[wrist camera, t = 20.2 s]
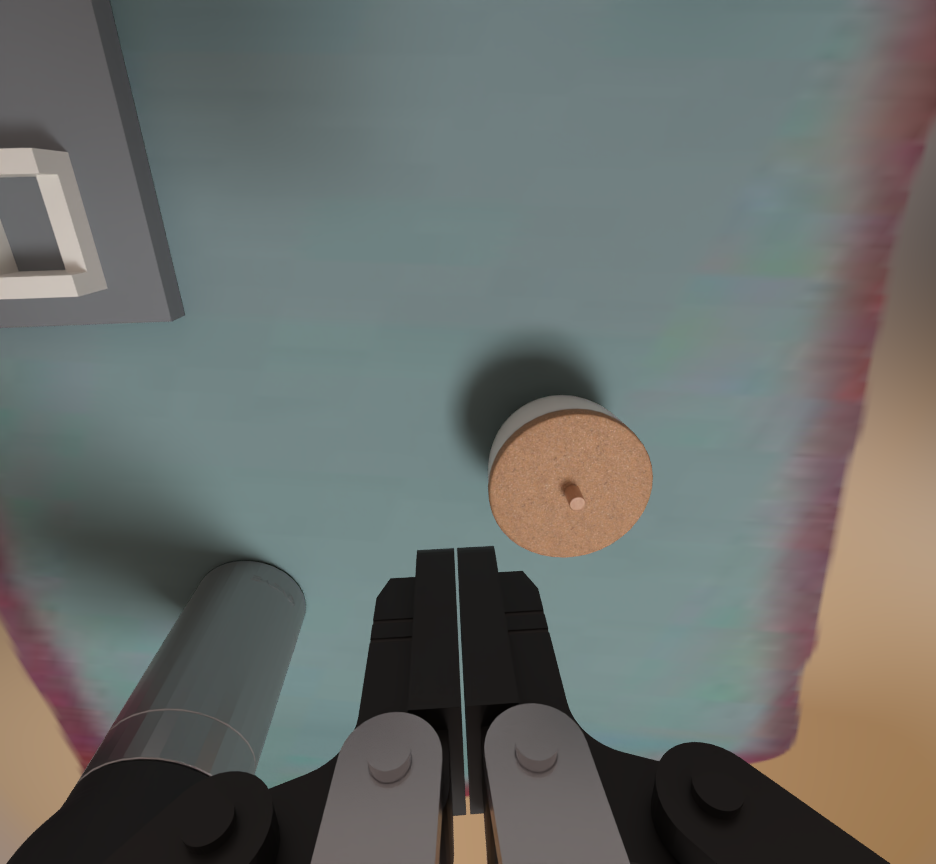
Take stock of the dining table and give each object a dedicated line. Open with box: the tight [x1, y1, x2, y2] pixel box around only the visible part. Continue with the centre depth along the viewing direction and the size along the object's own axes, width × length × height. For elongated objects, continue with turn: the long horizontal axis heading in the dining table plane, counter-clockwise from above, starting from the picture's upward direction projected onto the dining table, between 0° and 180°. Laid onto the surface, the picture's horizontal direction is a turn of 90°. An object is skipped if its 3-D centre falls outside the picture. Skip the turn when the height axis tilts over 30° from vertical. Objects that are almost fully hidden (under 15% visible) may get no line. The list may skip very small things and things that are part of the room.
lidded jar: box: [488, 395, 653, 557], centre depth 37 cm, size 11×11×9 cm
